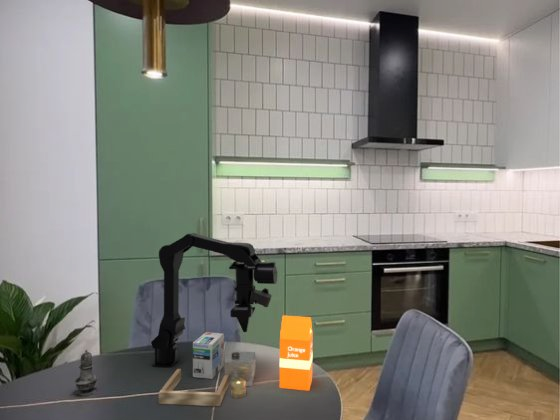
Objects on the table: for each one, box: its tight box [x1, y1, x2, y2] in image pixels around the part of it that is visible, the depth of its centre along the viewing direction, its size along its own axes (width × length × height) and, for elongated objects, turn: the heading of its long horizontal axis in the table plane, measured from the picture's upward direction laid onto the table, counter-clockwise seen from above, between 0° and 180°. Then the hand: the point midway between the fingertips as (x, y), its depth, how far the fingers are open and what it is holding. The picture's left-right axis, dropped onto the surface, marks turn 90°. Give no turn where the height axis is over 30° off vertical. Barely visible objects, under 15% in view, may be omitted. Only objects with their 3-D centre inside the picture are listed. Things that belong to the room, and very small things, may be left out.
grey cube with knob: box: [224, 350, 257, 387], centre depth 116 cm, size 8×8×8 cm
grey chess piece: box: [74, 349, 99, 397], centre depth 107 cm, size 6×6×12 cm
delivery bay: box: [158, 368, 230, 407], centre depth 108 cm, size 16×15×3 cm
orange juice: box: [279, 315, 314, 391], centre depth 113 cm, size 8×9×20 cm
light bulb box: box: [192, 331, 225, 380], centre depth 121 cm, size 11×7×11 cm, turn 168°
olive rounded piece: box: [230, 377, 247, 399], centre depth 107 cm, size 4×4×4 cm
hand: (245, 331), depth 122 cm, fingers closed
